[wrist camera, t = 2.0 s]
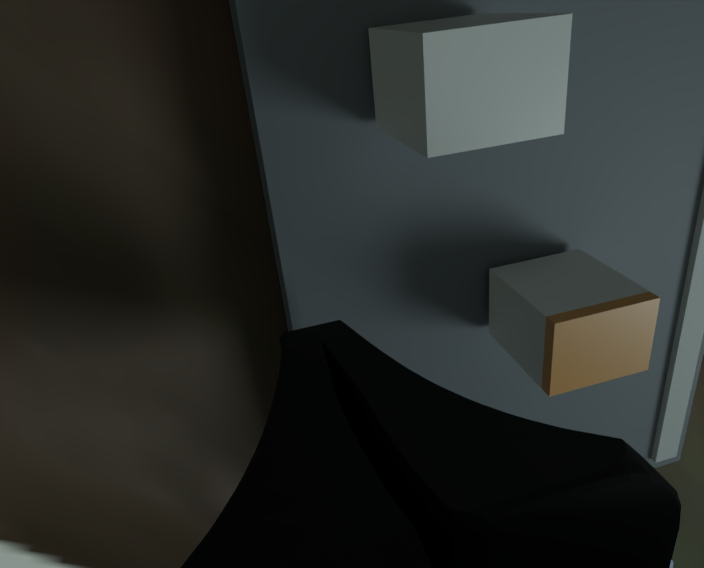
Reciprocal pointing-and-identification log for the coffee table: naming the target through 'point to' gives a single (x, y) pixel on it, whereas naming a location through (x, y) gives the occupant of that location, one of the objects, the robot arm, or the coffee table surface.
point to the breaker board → (488, 199)
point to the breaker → (471, 80)
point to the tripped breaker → (571, 320)
